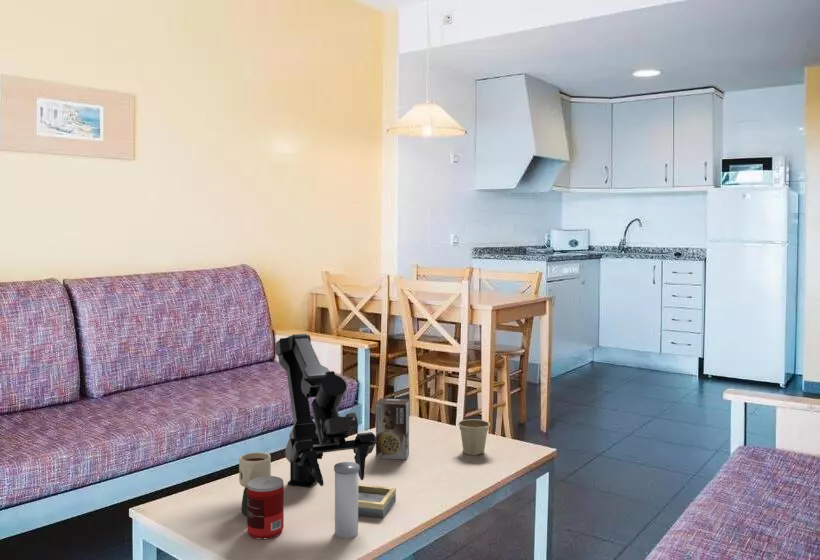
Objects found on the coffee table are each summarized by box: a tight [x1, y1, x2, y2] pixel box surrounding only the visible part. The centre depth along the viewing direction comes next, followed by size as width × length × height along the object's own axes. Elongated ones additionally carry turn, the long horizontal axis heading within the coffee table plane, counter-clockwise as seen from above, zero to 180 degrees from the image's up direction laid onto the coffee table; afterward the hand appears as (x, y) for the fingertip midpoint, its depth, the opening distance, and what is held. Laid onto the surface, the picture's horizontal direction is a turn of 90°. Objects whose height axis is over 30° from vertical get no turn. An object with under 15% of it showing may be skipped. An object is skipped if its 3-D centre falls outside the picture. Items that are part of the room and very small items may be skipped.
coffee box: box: [375, 397, 410, 460], centre depth 203 cm, size 9×6×16 cm
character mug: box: [238, 451, 272, 515], centre depth 161 cm, size 11×7×13 cm, turn 178°
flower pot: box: [457, 418, 491, 456], centre depth 207 cm, size 9×9×9 cm
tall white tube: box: [333, 461, 359, 540], centre depth 150 cm, size 5×5×15 cm
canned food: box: [246, 475, 285, 540], centre depth 151 cm, size 8×8×11 cm
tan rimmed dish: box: [358, 483, 397, 519], centre depth 165 cm, size 10×10×3 cm
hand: (342, 482), depth 153 cm, fingers open, 9 cm apart
